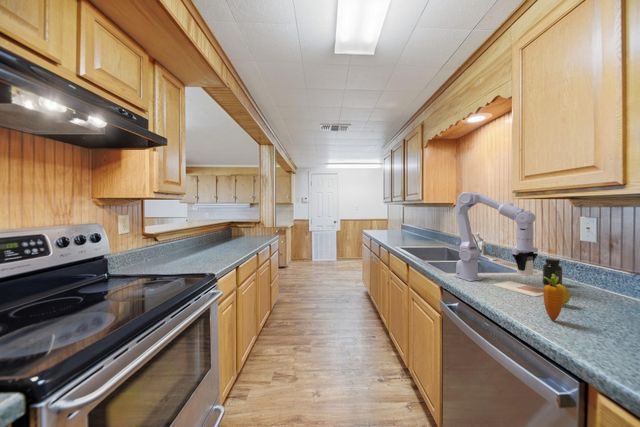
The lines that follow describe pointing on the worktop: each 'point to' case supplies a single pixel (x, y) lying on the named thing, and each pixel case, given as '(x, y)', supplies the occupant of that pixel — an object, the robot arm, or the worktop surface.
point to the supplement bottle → (552, 270)
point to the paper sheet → (520, 288)
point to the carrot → (553, 297)
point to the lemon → (565, 293)
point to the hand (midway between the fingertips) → (524, 269)
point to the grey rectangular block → (527, 267)
